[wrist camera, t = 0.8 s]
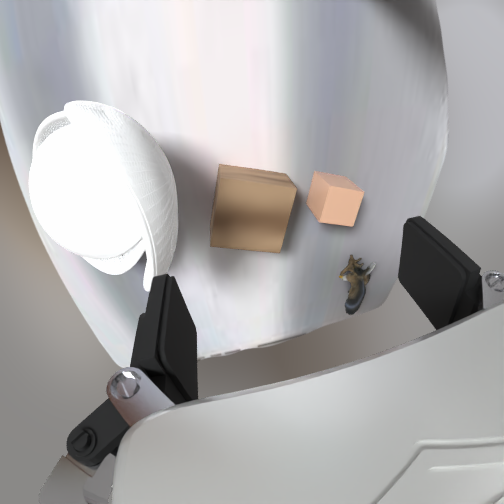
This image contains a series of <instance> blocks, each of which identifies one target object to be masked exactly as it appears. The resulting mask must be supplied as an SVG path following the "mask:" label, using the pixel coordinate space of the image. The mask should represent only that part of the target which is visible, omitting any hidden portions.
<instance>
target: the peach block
mask: <svg viewBox="0 0 504 504" xmlns="http://www.w3.org/2000/svg"><path fill="white" fill-rule="evenodd" d="M363 195H364V191H362V190H361V189H360V188H359V187H358V186H356V185H355V184H354V183H353V182H352V181H350V180H349V179H348V178H347V177H344V176H339V175H334V174H329V173H324V172H318V171H314V175H313V179H312V183H311V186H310V190H309V194H308V198H307V202H306V204H307V206H308V207H309V208H310V210H311V211H312V213H313V214H314V215H315V217H316V218H317V220H318V221H319V222H321V223H329V224H337V225H344V226H352V227H353V225H354V222H355V219H356V216H357V213H358V210H359V207H360V204H361V201H362V198H363Z"/></svg>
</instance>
